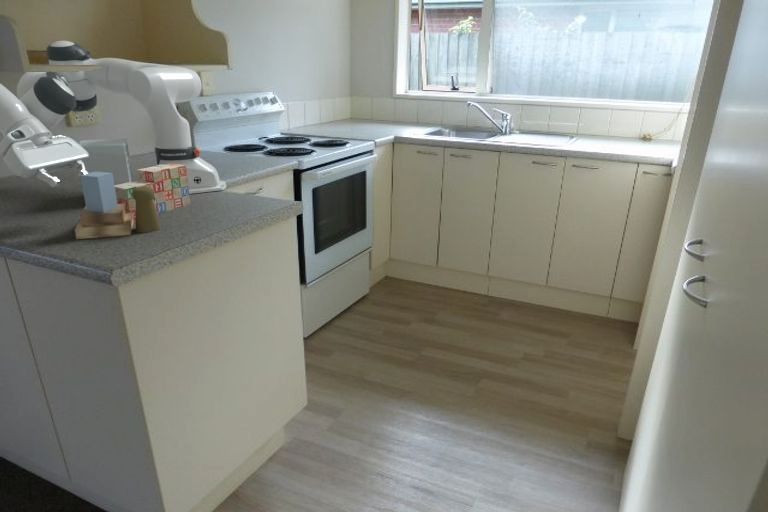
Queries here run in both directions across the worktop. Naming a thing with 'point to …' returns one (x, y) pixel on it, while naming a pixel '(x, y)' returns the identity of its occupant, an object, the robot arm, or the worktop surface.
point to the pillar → (99, 191)
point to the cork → (145, 210)
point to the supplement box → (109, 158)
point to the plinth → (105, 229)
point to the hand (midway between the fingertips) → (72, 181)
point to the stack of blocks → (157, 188)
